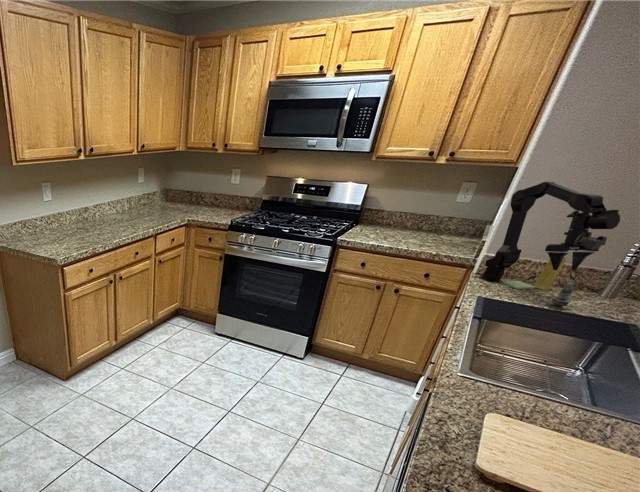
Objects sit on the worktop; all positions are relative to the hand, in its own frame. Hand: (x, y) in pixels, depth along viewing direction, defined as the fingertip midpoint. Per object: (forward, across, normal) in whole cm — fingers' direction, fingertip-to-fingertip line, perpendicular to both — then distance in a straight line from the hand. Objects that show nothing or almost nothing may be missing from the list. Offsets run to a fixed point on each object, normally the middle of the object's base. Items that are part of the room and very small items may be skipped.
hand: (564, 270), depth 169 cm
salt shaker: (+15, -2, -3) cm, 15 cm away
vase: (+10, +15, +18) cm, 25 cm away
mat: (+9, +6, +21) cm, 24 cm away
